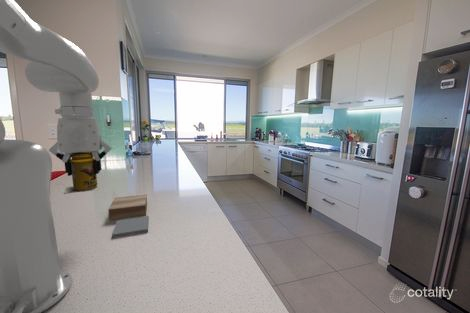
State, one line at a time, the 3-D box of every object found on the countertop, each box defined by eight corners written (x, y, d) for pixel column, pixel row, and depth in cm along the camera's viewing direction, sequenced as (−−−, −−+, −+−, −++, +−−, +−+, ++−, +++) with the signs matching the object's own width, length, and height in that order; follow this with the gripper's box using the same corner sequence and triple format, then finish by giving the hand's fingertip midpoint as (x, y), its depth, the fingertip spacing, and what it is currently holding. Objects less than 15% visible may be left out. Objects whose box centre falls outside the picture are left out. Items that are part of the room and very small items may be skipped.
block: (146, 215, 79) (145, 205, 78) (109, 220, 74) (108, 209, 74) (147, 203, 90) (146, 194, 89) (115, 207, 86) (114, 197, 85)
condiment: (99, 189, 64) (95, 150, 62) (63, 194, 59) (58, 152, 57) (98, 184, 70) (95, 148, 68) (66, 188, 65) (61, 149, 63)
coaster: (147, 231, 67) (147, 228, 67) (112, 237, 64) (112, 234, 63) (148, 218, 76) (148, 215, 76) (117, 222, 73) (117, 220, 73)
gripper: (33, 112, 55) (43, 179, 58) (109, 113, 61) (114, 174, 64) (47, 113, 62) (55, 173, 64) (113, 114, 68) (118, 169, 71)
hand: (84, 173), depth 64 cm, fingers closed on condiment, 6 cm apart
